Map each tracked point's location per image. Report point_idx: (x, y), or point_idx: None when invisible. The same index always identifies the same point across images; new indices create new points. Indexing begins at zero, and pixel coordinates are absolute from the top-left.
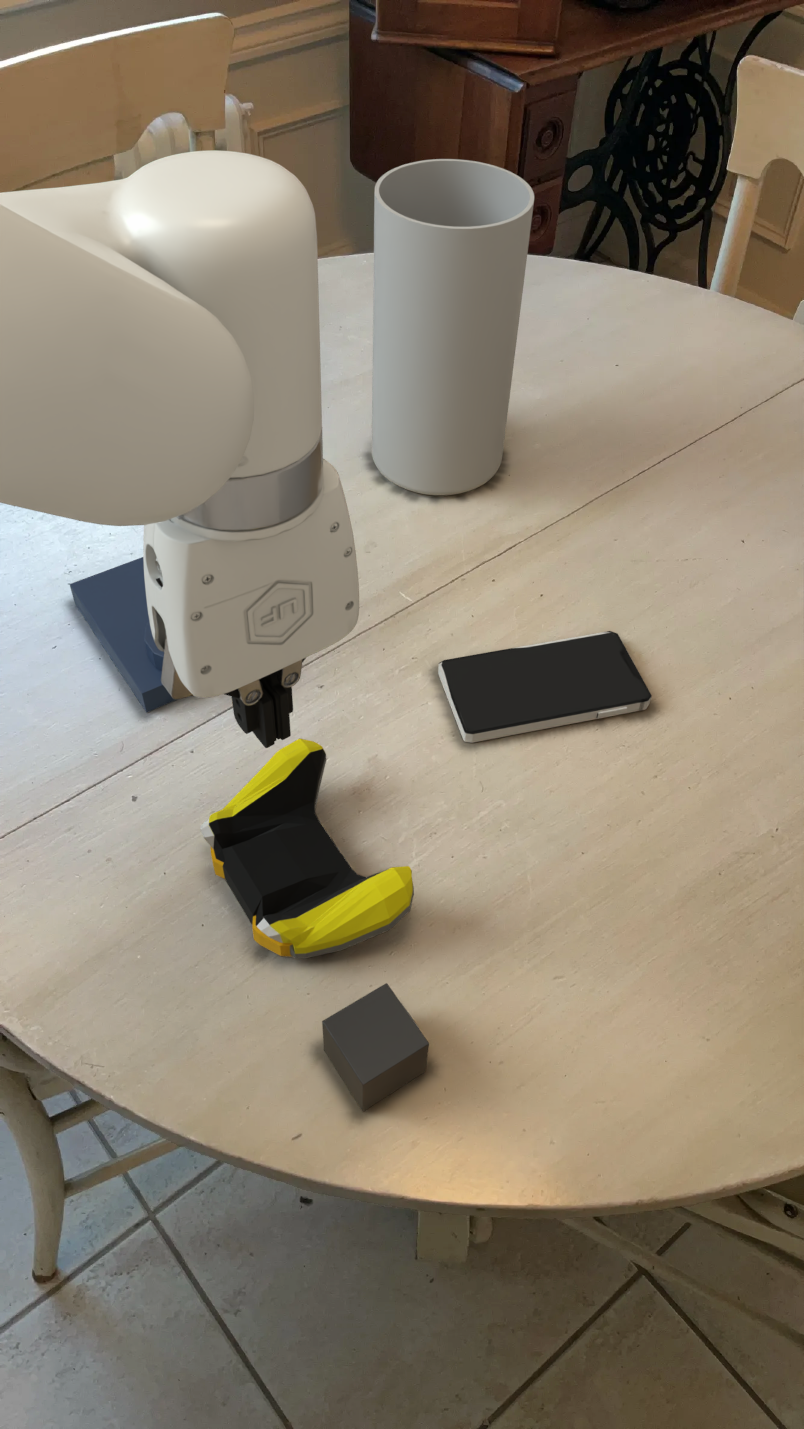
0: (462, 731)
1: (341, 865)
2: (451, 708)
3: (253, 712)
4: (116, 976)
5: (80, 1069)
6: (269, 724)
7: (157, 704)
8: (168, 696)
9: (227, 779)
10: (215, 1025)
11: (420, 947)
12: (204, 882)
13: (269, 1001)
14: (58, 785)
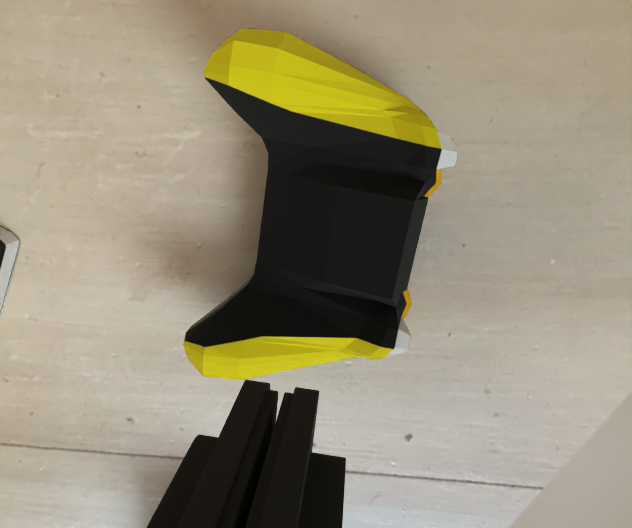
0: (10, 251)
1: (277, 181)
2: (5, 291)
3: (313, 519)
4: (592, 257)
5: None
6: (291, 449)
7: None
8: None
9: None
10: (551, 114)
11: (263, 18)
12: (421, 293)
13: (475, 94)
14: (464, 503)
